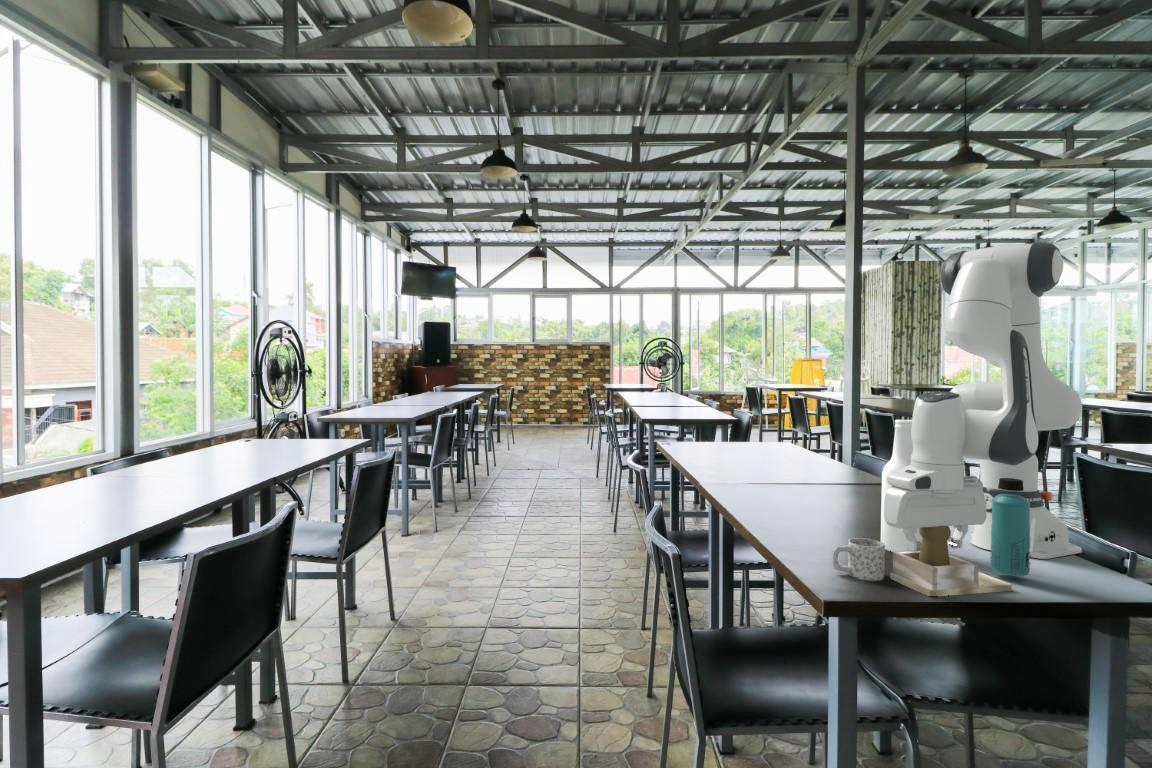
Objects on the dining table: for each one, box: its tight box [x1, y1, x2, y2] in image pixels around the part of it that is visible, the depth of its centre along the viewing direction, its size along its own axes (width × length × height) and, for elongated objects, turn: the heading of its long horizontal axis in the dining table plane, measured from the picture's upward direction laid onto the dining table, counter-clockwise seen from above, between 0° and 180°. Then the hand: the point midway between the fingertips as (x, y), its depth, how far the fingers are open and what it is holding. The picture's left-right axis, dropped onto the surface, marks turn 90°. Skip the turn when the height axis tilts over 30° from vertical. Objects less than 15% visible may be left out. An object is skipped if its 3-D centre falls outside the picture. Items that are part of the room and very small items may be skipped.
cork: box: [918, 526, 952, 567], centre depth 116 cm, size 6×6×11 cm
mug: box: [832, 537, 886, 582], centre depth 122 cm, size 10×7×7 cm
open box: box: [889, 551, 1013, 597], centre depth 117 cm, size 18×10×5 cm, turn 102°
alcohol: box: [880, 419, 922, 553], centre depth 140 cm, size 9×9×30 cm
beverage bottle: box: [989, 478, 1031, 577], centre depth 121 cm, size 6×7×20 cm
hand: (934, 548), depth 116 cm, fingers open, 8 cm apart
